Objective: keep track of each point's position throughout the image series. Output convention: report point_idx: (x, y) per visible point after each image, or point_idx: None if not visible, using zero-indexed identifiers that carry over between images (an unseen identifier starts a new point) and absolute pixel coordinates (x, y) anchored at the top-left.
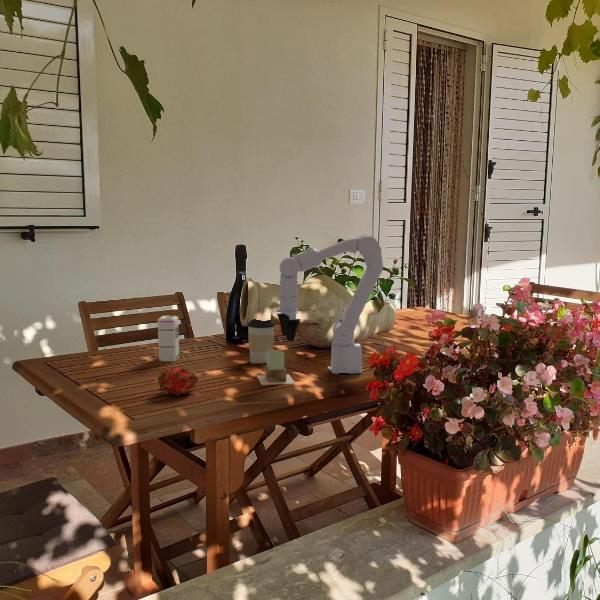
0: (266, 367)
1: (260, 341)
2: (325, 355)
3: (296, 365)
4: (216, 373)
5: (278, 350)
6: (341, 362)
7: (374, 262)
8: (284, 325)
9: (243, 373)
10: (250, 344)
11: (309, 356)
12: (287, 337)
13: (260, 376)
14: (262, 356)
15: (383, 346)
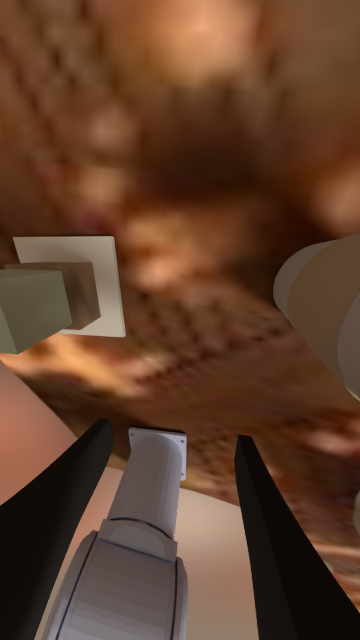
0: (45, 266)
1: (319, 295)
2: (314, 468)
3: (231, 380)
4: (180, 35)
5: (2, 337)
6: (125, 467)
7: None
8: (1, 534)
9: (165, 189)
10: None
11: (322, 435)
12: (84, 435)
13: (100, 247)
14: (283, 289)
15: (341, 569)
